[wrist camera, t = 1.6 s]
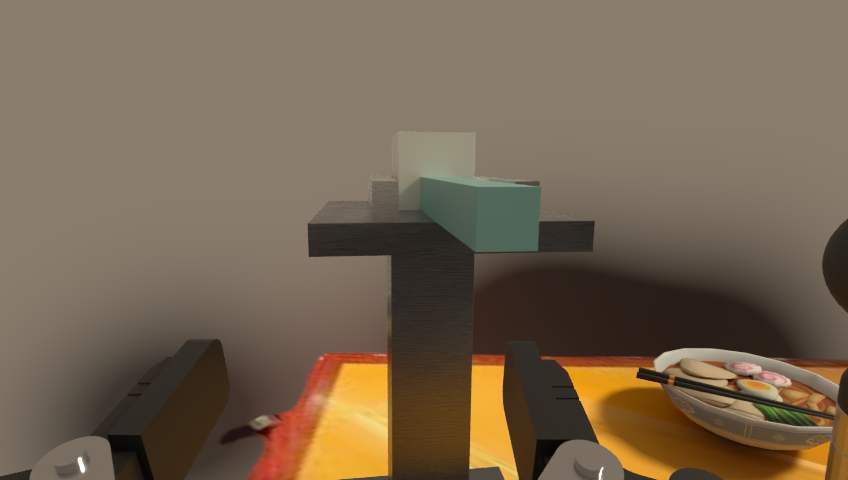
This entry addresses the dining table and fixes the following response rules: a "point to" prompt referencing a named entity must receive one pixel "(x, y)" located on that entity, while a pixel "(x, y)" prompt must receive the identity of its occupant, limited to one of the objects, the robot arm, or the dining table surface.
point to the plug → (463, 192)
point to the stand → (427, 320)
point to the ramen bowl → (748, 397)
